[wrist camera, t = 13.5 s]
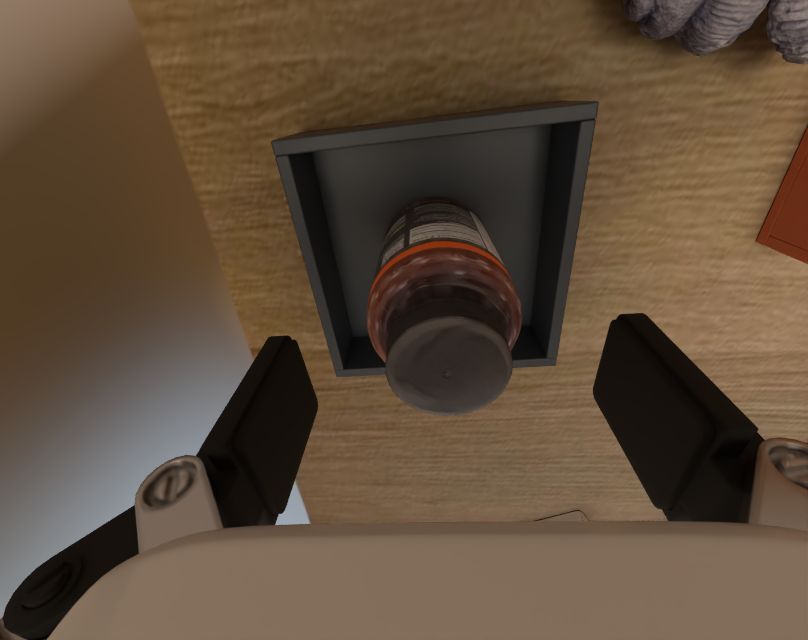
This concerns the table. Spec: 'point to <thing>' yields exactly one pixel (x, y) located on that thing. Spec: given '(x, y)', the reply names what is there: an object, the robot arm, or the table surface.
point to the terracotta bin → (790, 210)
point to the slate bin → (448, 178)
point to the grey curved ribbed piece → (723, 23)
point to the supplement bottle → (443, 309)
